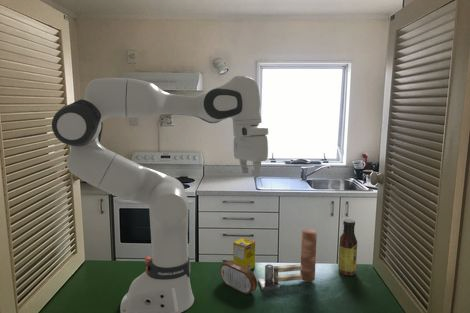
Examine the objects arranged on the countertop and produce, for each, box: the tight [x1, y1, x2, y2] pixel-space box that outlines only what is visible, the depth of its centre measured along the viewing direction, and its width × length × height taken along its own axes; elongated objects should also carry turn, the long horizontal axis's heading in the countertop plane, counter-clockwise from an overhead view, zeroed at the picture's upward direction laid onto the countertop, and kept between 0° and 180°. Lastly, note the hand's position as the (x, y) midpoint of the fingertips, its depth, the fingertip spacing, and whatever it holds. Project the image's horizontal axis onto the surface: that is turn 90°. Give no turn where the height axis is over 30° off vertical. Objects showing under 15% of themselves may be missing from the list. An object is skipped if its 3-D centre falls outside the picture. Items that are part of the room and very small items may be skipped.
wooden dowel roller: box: [273, 228, 318, 283], centre depth 119 cm, size 15×5×17 cm, turn 100°
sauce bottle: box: [338, 219, 358, 277], centre depth 127 cm, size 6×6×20 cm
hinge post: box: [257, 264, 281, 292], centre depth 119 cm, size 6×6×7 cm
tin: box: [219, 260, 258, 295], centre depth 117 cm, size 15×3×8 cm, turn 47°
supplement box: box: [232, 237, 256, 271], centre depth 130 cm, size 6×6×11 cm
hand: (250, 174), depth 108 cm, fingers open, 8 cm apart
